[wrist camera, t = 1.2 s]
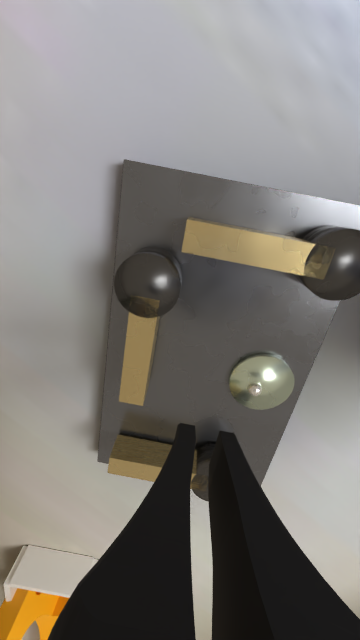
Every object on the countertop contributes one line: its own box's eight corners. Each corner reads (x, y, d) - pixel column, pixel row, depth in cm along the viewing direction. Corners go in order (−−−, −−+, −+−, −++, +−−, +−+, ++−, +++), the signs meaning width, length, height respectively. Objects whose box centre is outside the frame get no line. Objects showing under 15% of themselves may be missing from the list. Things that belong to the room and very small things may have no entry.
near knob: (127, 241, 17) (117, 247, 15) (187, 253, 17) (185, 260, 15) (113, 378, 21) (103, 398, 19) (162, 388, 21) (158, 408, 19)
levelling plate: (367, 208, 16) (390, 209, 14) (255, 479, 26) (260, 503, 23) (129, 162, 16) (118, 156, 14) (102, 450, 25) (93, 471, 23)
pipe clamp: (94, 616, 37) (73, 696, 31) (65, 618, 38) (39, 696, 32) (54, 561, 33) (20, 642, 27) (21, 564, 33) (-18, 643, 27)
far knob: (242, 448, 22) (246, 473, 20) (230, 480, 24) (233, 506, 22) (118, 425, 22) (110, 447, 20) (114, 457, 24) (106, 481, 22)
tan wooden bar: (368, 232, 16) (393, 236, 14) (342, 293, 17) (361, 306, 15) (192, 197, 15) (191, 197, 13) (180, 262, 17) (177, 271, 15)
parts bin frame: (99, 558, 32) (87, 598, 29) (91, 628, 39) (81, 667, 35) (23, 543, 32) (3, 582, 29) (28, 616, 39) (12, 654, 35)
